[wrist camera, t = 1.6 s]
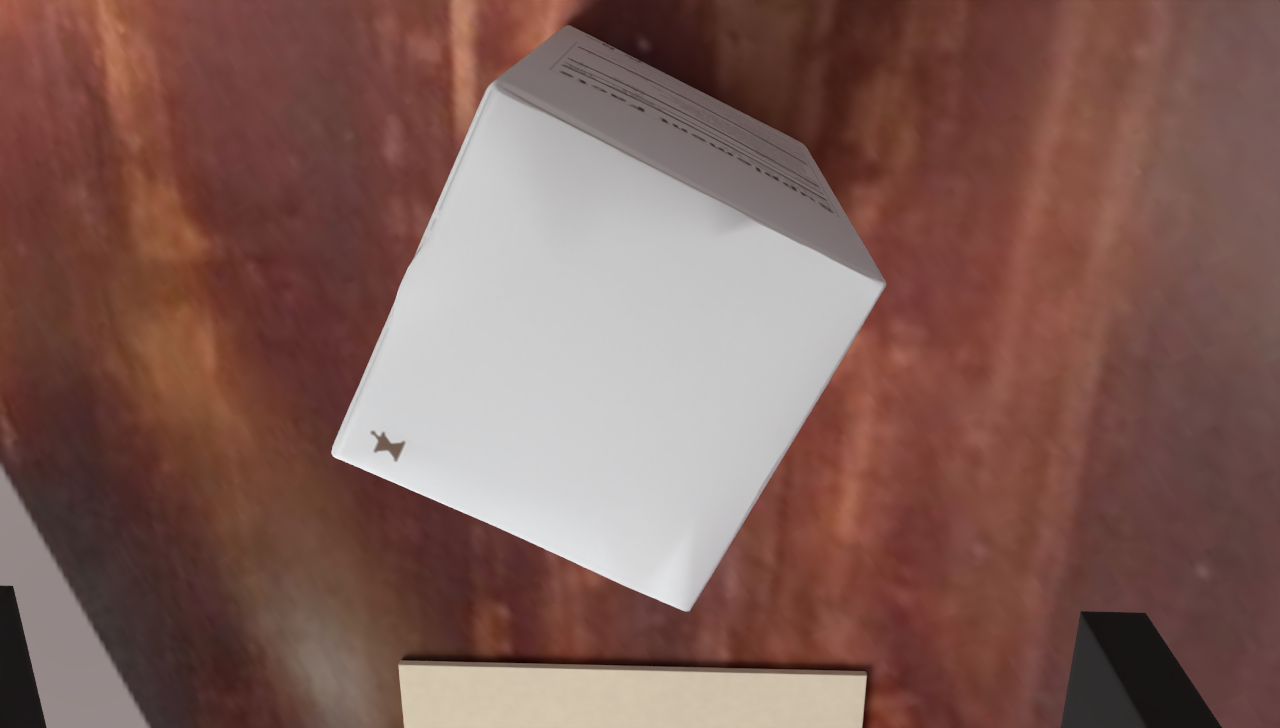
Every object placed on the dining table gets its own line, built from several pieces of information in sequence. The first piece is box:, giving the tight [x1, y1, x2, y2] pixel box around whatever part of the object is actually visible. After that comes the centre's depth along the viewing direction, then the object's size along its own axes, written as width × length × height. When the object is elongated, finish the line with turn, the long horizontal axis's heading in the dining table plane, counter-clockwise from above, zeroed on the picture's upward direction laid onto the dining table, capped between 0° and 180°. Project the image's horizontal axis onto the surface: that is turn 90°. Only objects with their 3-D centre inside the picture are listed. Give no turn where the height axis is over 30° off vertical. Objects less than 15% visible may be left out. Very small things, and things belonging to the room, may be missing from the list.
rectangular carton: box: [332, 25, 886, 611], centre depth 30 cm, size 9×9×15 cm
